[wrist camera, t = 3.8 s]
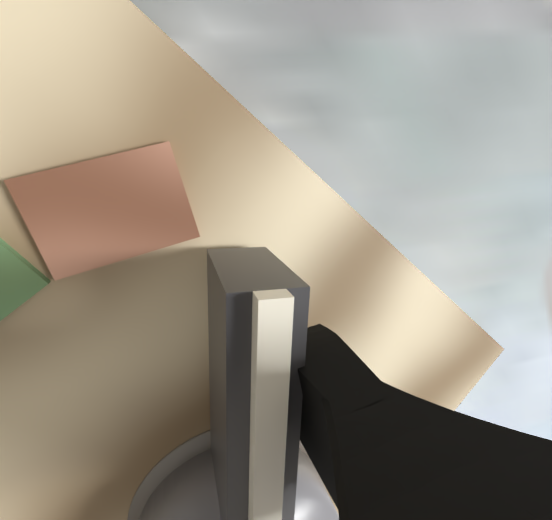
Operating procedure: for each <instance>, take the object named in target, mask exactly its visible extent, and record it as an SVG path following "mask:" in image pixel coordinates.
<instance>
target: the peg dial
mask: <svg viewBox="0 0 552 520" xmlns="http://www.w3.org/2000/svg"><path fill="white" fill-rule="evenodd" d="M207 283H208V333H209V383H210V433H211V449H209V450H206V451H204V452H202V453H200V454H198V455H196V456H195V457H193V458H191V459H190V460H188V461H186V462H185V463H183V464H182V465H181V466H179V467H178V468H177V469H175V470H174V471H173V472H172V473H171V474H170V475H169V476H168V477H166V478H165V479H164V480H163V481H162V482H161V484H160V485H159V486H158V487H157V488H156V489H155V490H154V492H153V493H152V495H151V496H150V498H149V499H148V501H147V503H146V505H145V506H144V508H143V510H142V513H141V516H140V519H139V520H339V515H338V513H337V511H336V509H335V507H334V505H333V503H332V501H331V498H330V496H329V494H328V492H327V490H326V488H325V486H324V484H323V482H322V480H321V478H320V476H319V474H318V472H317V470H316V469H315V467H314V465H313V463H312V461H311V459H310V458H309V457H308V456H307V455H306V454H305V453H304V452H303V451H301V450H300V449H299V443H300V428H301V414H302V400H303V394H302V389H301V384H300V379H299V374H298V368H301V367H303V366H305V356H306V342H307V328H308V313H309V299H310V286H309V285H308V284H307V283H306V282H304V281H303V280H302V279H301V278H300V277H299V276H298V275H297V274H295V273H294V272H293V271H292V270H291V269H290V268H289V267H288V266H286V265H285V264H284V263H283V262H282V261H281V260H280V259H279V258H277V257H276V256H275V255H274V254H273V253H272V252H271V251H270V250H268V249H267V248H266V247H247V248H220V249H207Z"/></svg>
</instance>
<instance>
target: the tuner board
mask: <svg viewBox="0 0 552 520" xmlns="http://www.w3.org/2000/svg"><path fill="white" fill-rule="evenodd" d="M247 247H266V248H267V249H268V250H270V251H271V252H272V253H273V254H274V255H275V256H276V257H277V258H279V259H280V260H281V261H282V262H283V263H284V264H285V265H286V266H288V267H289V268H290V269H291V270H292V271H293V272H294V273H295V274H297V275H298V276H299V277H300V278H301V279H302V280H303V281H304V282H306V283H307V284H308V285H309V286H310V299H309V313H308V327H311V326H314V325H317V324H321V325H323V326H325V327H327V328H329V329H330V330H332V331H333V332H335V333H336V334H337V335H338V336H339V337H340V338H341V339H342V340H343V341H344V342H345V343H346V344H347V345H348V346H349V347H350V348H351V349H352V350H353V351H354V352H355V353H356V355H357V356H358V357H359V358H360V359H361V360H362V361H363V362H364V363H365V364H366V365H367V366H368V367H369V368H370V370H371V371H372V372H373V373H374V374H375V375H376V376H377V377H378V378H379V379H380V380H381V381H382V382H385V383H387V384H389V385H391V386H393V387H395V388H397V389H400V390H402V391H404V392H407V393H409V394H411V395H414V396H416V397H419V398H422V399H424V400H427V401H429V402H432V403H435V404H437V405H440V406H442V407H445V408H448V409H450V410H453V411H454V410H455V409H456V408H457V407H458V406H459V404H460V403H461V402H462V401H463V399H464V398H465V397H466V396H467V394H468V393H469V392H470V391H471V389H472V388H473V387H474V386H475V385H476V383H477V382H478V381H479V380H480V378H481V377H482V376H483V375H484V373H485V372H486V371H487V370H488V368H489V367H490V366H491V365H492V363H493V362H494V361H495V360H496V359H497V357H498V356H499V355H500V354H501V352H502V351H503V350H504V349H503V348H502V347H501V346H500V345H499V344H498V343H497V342H496V341H495V340H494V339H493V338H492V337H491V336H489V335H488V334H487V333H486V332H485V331H484V330H483V329H482V328H481V327H480V326H479V325H478V324H477V323H476V322H474V321H473V320H472V319H471V318H470V317H469V316H468V315H467V314H466V313H465V312H464V311H463V310H462V309H460V308H459V307H458V306H457V305H456V304H455V303H454V302H453V301H452V300H451V299H450V298H449V297H448V296H447V295H445V294H444V293H443V292H442V291H441V290H440V289H439V288H438V287H437V286H436V285H435V284H434V283H433V282H431V281H430V280H429V279H428V278H427V277H426V276H425V275H424V274H423V273H422V272H421V271H420V270H419V269H418V268H416V267H415V266H414V265H413V264H412V263H411V262H410V261H409V260H408V259H407V258H406V257H405V256H404V255H402V254H401V253H400V252H399V251H398V250H397V249H396V248H395V247H394V246H393V245H392V244H391V243H390V242H389V241H387V240H386V239H385V238H384V237H383V236H382V235H381V234H380V233H379V232H378V231H377V230H376V229H375V228H374V227H372V226H371V225H370V224H369V223H368V222H367V221H366V220H365V219H364V218H363V217H362V216H361V215H360V214H358V213H357V212H356V211H355V210H354V209H353V208H352V207H351V206H350V205H349V204H348V203H347V202H346V201H345V200H343V199H342V198H341V197H340V196H339V195H338V194H337V193H336V192H335V191H334V190H333V189H332V188H331V187H329V186H328V185H327V184H326V183H325V182H324V181H323V180H322V179H321V178H320V177H319V176H318V175H317V174H316V173H314V172H313V171H312V170H311V169H310V168H309V167H308V166H307V165H306V164H305V163H304V162H303V161H302V160H300V159H299V158H298V157H297V156H296V155H295V154H294V153H293V152H292V151H291V150H290V149H289V148H288V147H287V146H285V145H284V144H283V143H282V142H281V141H280V140H279V139H278V138H277V137H276V136H275V135H274V134H273V133H271V132H270V131H269V130H268V129H267V128H266V127H265V126H264V125H263V124H262V123H261V122H260V121H259V120H258V119H256V118H255V117H254V116H253V115H252V114H251V113H250V112H249V111H248V110H247V109H246V108H245V107H244V106H243V105H241V104H240V103H239V102H238V101H237V100H236V99H235V98H234V97H233V96H232V95H231V94H230V93H229V92H227V91H226V90H225V89H224V88H223V87H222V86H221V85H220V84H219V83H218V82H217V81H216V80H215V79H214V78H212V77H211V76H210V75H209V74H208V73H207V72H206V71H205V70H204V69H203V68H202V67H201V66H200V65H198V64H197V63H196V62H195V61H194V60H193V59H192V58H191V57H190V56H189V55H188V54H187V53H186V52H185V51H183V50H182V49H181V48H180V47H179V46H178V45H177V44H176V43H175V42H174V41H173V40H172V39H171V38H169V37H168V36H167V35H166V34H165V33H164V32H163V31H162V30H161V29H160V28H159V27H158V26H157V25H156V24H154V23H153V22H152V21H151V20H150V19H149V18H148V17H147V16H146V15H145V14H144V13H143V12H142V11H141V10H139V9H138V8H137V7H136V6H135V5H134V4H133V3H132V2H131V1H130V0H0V520H139V519H140V516H141V513H142V510H143V508H144V506H145V505H146V503H147V501H148V499H149V498H150V496H151V495H152V493H153V492H154V490H155V489H156V488H157V487H158V486H159V485H160V484H161V482H162V481H163V480H164V479H165V478H166V477H168V476H169V475H170V474H171V473H172V472H173V471H174V470H175V469H177V468H178V467H179V466H181V465H182V464H183V463H185V462H186V461H188V460H190V459H191V458H193V457H195V456H196V455H198V454H200V453H202V452H204V451H206V450H209V449H211V433H210V383H209V333H208V283H207V249H220V248H247ZM299 449H300V450H301V451H303V452H304V453H305V454H306V455H307V456H308V454H307V452H306V450H305V448H304V447H303V445H302V443H301V441H300V443H299ZM308 457H309V456H308ZM322 482H323V481H322ZM323 484H324V483H323ZM324 486H325V485H324ZM325 488H326V487H325ZM326 490H327V489H326ZM327 492H328V490H327ZM328 494H329V492H328ZM329 496H330V494H329ZM330 498H331V496H330ZM331 501H332V503H333V505H334V507H335V509H336V511H337V513H338V509H337V507H336V505H335V503H334V501H333V500H332V498H331ZM338 515H339V513H338Z"/></svg>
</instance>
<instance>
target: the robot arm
mask: <svg viewBox="0 0 552 520" xmlns="http://www.w3.org/2000/svg"><path fill="white" fill-rule="evenodd" d="M298 374H299V379H300V384H301V389H302V394H303V400H302V414H301V428H300V441H301V443H302V445H303V447H304V448H305V450H306V452H307V454H308V456H309V458H310V459H311V461H312V463H313V465H314V467H315V469H316V470H317V472H318V474H319V476H320V478H321V480H322V481H323V483H324V485H325V487H326V489H327V490H328V492H329V494H330V496H331V498H332V500H333V501H334V503H335V505H336V507H337V509H338V513H339V520H552V440H548V439H544V438H540V437H537V436H533V435H529V434H526V433H522V432H519V431H516V430H512V429H509V428H506V427H503V426H499V425H496V424H493V423H490V422H486V421H483V420H480V419H477V418H474V417H471V416H468V415H465V414H462V413H459V412H456V411H453V410H450V409H448V408H445V407H442V406H440V405H437V404H435V403H432V402H429V401H427V400H424V399H422V398H419V397H416V396H414V395H411V394H409V393H407V392H404V391H402V390H400V389H397V388H395V387H393V386H391V385H389V384H387V383H385V382H382V381H381V380H380V379H379V378H378V377H377V376H376V375H375V374H374V373H373V372H372V371H371V370H370V368H369V367H368V366H367V365H366V364H365V363H364V362H363V361H362V360H361V359H360V358H359V357H358V356H357V355H356V353H355V352H354V351H353V350H352V349H351V348H350V347H349V346H348V345H347V344H346V343H345V342H344V341H343V340H342V339H341V338H340V337H339V336H338V335H337V334H336V333H335V332H333V331H332V330H330V329H329V328H327V327H325V326H323V325H321V324H317V325H314V326H311V327H308V328H307V342H306V356H305V366H303V367H301V368H298Z"/></svg>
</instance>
